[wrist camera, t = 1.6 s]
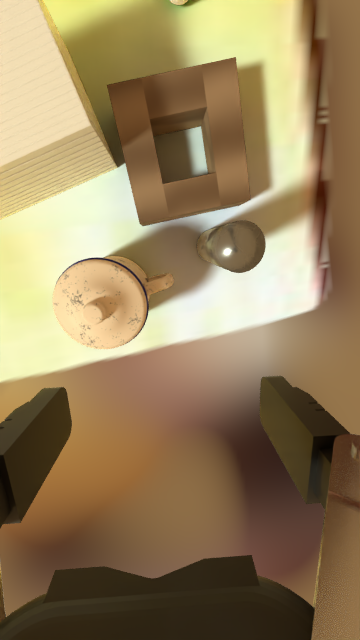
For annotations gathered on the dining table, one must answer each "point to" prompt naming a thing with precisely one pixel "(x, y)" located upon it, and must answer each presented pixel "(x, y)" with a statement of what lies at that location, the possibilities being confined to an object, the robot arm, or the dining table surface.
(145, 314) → the teacup with lid
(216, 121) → the socket block
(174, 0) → the cup
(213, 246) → the metal pin
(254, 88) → the dining table surface
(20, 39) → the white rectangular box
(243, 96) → the dining table surface
